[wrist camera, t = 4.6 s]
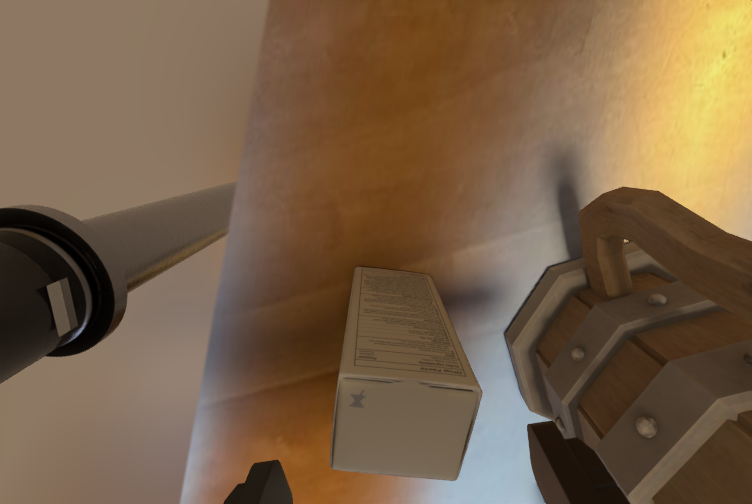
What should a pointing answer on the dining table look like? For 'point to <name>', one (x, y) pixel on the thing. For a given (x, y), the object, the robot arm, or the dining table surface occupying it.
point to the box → (401, 381)
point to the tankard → (647, 350)
